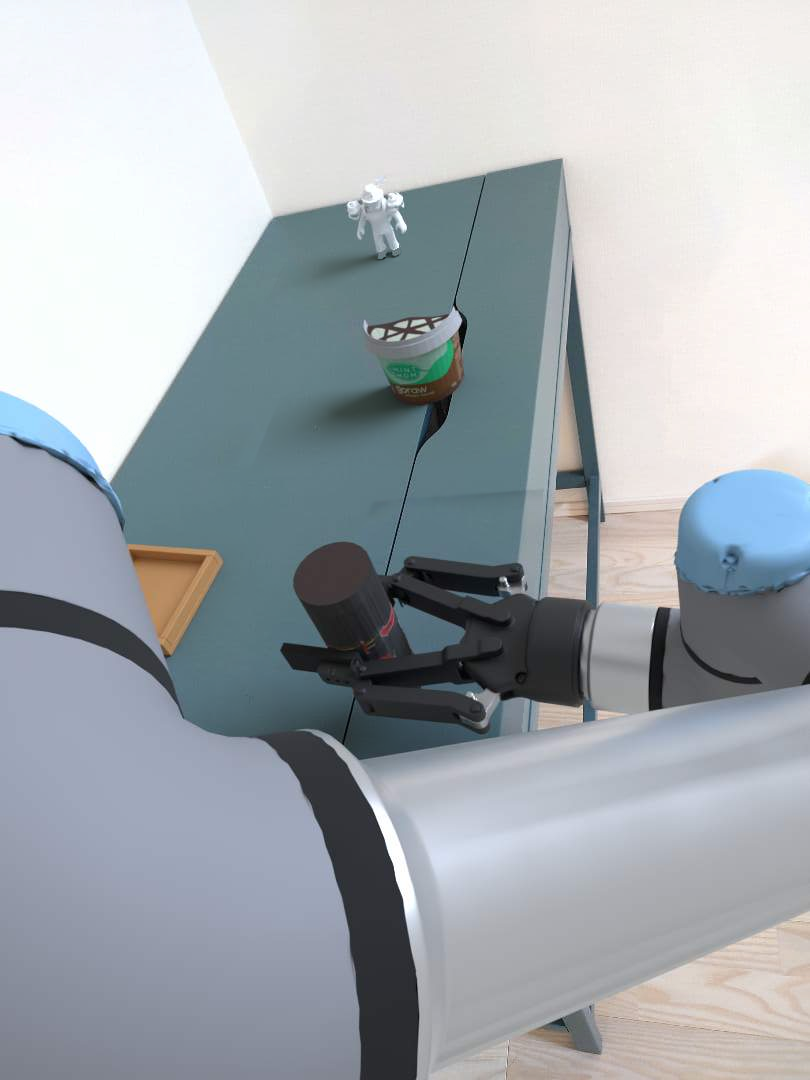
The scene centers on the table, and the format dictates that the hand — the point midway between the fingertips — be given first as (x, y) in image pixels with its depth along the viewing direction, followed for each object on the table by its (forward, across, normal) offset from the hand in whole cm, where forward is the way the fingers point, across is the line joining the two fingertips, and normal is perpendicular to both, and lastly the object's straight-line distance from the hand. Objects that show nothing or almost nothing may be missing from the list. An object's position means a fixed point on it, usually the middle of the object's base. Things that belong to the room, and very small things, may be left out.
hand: (304, 621), depth 65 cm
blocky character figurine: (+23, +78, -12) cm, 82 cm away
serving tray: (+28, +8, -12) cm, 31 cm away
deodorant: (-5, 0, -8) cm, 10 cm away
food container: (+6, +43, -12) cm, 45 cm away
